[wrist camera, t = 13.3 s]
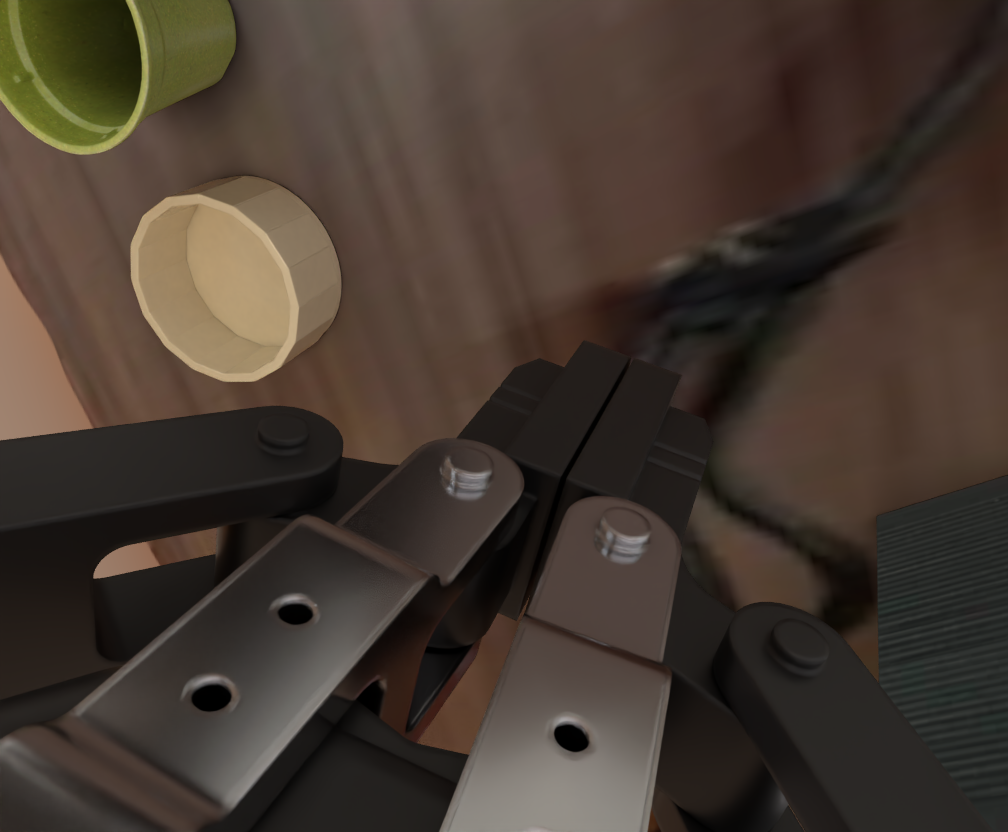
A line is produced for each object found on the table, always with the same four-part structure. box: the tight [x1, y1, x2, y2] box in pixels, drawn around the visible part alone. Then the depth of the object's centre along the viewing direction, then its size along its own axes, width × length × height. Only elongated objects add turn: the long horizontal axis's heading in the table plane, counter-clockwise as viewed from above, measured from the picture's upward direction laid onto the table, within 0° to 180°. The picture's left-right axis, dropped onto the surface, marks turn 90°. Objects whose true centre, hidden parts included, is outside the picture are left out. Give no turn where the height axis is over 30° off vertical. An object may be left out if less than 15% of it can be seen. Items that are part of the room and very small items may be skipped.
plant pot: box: [0, 0, 236, 154], centre depth 41 cm, size 9×9×9 cm
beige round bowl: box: [131, 176, 342, 382], centre depth 48 cm, size 10×10×4 cm
